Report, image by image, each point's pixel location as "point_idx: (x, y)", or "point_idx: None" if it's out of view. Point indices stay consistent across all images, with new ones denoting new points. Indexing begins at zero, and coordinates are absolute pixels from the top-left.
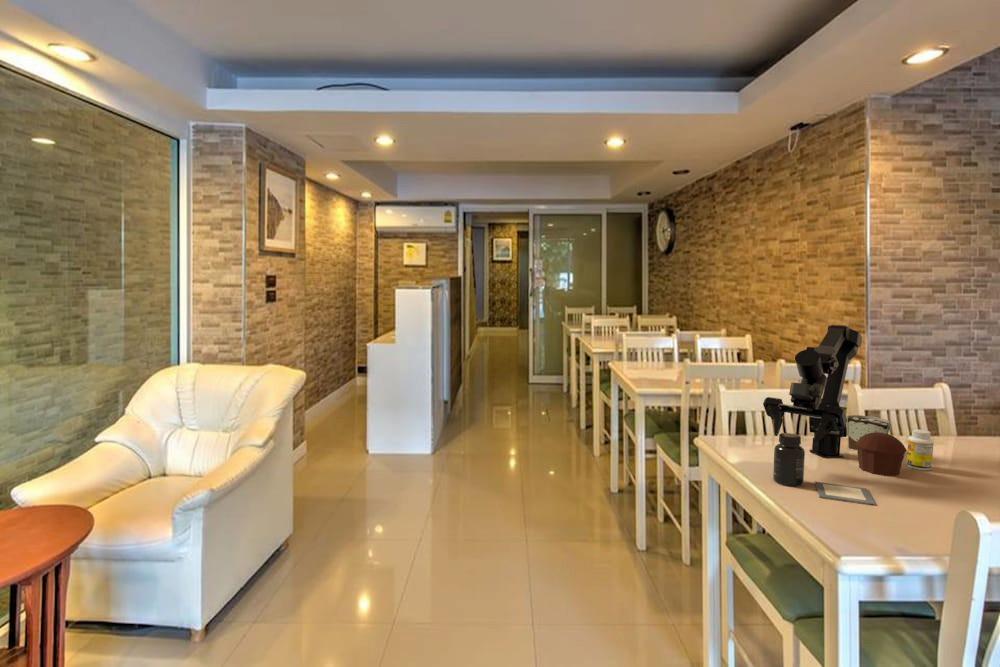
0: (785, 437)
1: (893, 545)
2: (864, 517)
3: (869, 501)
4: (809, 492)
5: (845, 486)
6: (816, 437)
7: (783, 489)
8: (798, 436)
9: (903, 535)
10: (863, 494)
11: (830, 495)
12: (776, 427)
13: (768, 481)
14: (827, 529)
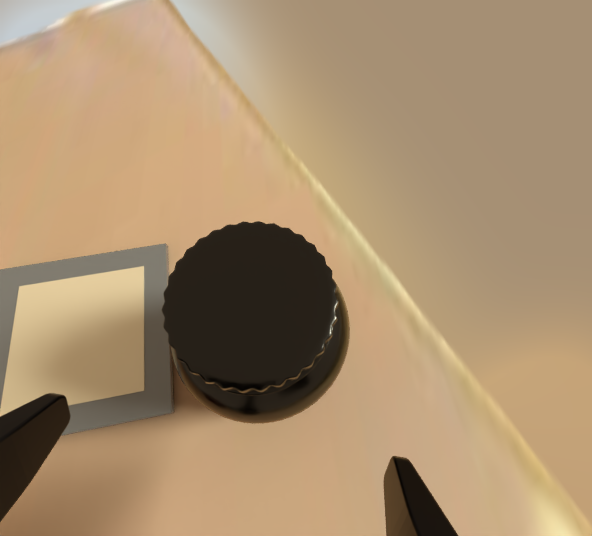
0: (278, 226)
1: (50, 57)
2: (68, 163)
3: (12, 281)
4: None
5: None
6: (12, 417)
7: None
8: (179, 291)
9: (8, 108)
10: (9, 350)
11: (131, 267)
12: (429, 530)
13: None
14: (165, 65)
